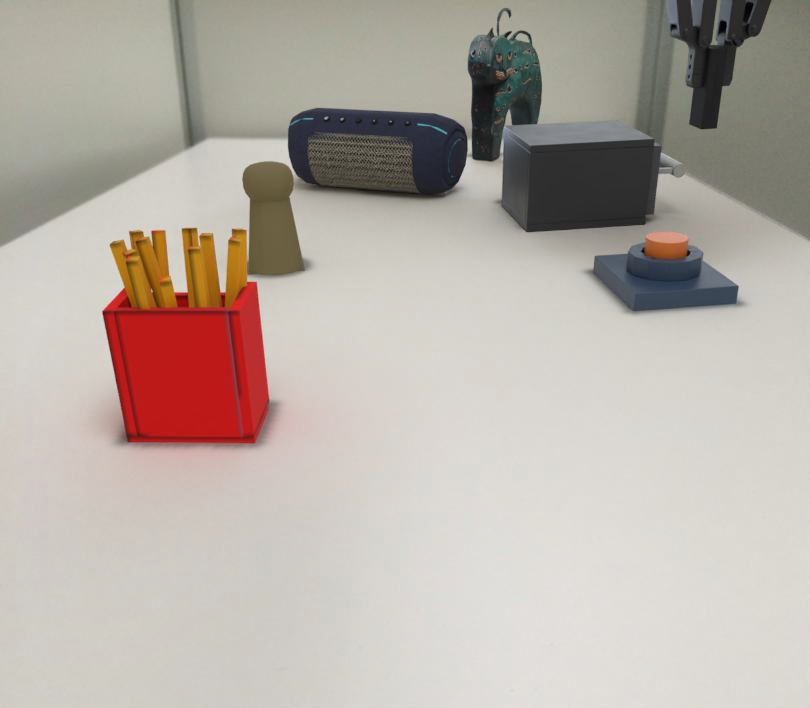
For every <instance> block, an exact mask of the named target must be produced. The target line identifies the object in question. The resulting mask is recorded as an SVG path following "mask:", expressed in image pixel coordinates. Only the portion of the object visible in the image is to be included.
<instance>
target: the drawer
mask: <svg viewBox="0 0 810 708" xmlns="http://www.w3.org/2000/svg"><path fill="white" fill-rule="evenodd" d="M662 147H663V146H662V145H661V144H659V143H657V142H656V141H654V149H653V158H652V167H651V176H650V185H649V194H648V203H647V212H646V216H654V215H655V209H656V199H657V191H658V183H659V182H658V181H659V175H667V174H669V175H671V176H673V177H675V178H677V179H679V178H682V177H683V176H685V174H686V171H687V166H686V165H685V164H683V163H681V162H680V161H678V160H677V159H674V158H672V157H671V156H669V155H667V154H665V153H663V152H662Z"/></svg>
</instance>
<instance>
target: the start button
mask: <svg viewBox="0 0 810 708" xmlns="http://www.w3.org/2000/svg"><path fill="white" fill-rule="evenodd" d="M644 242H645V250H644V254H645V255H647V256H650V257H654V258H664V259H675V258H683V257H686V256H687V250H688V245H689V242H690V237H689V236H688V235H686V234H684V233H680V232H676V231H653V232H650V233H647V234H646V236H645V241H644Z"/></svg>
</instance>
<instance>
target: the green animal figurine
mask: <svg viewBox="0 0 810 708" xmlns="http://www.w3.org/2000/svg"><path fill="white" fill-rule="evenodd" d="M504 12H506V13H507V16H508V18H509V19H511V17H512V9H510V8H509V7H503V8H501V9H500V11H499V12H498V14H497V18H496V22H497V23H496V35H495V33H494V27H493V26H492V27H491V28H490V30H489V31H488V33H487V34H477V35H476V36H474V38H473V39H472V41H471V43H470V44H469V49H468V55H467V72H468V75H469V78H470V80H471V105H470V117H471V119H470V121H471V158H472V160H475V161H485V162H493V161H495V160H497V159H499V158H500V154H501V146H502V141H503V135H504V126H506V120H507V115H508V112H509V113H510V119H511V125H530V124H539V119H540V112H541V106H542V98H543V97H542V96H543V80H542V70H541V64H540V59H539V55H538V53H537V50H536V48H535V47H534V46H533V39H532V35H531V34H530V32H528V31H527V30H521V29H520V30H517V31H515V32H514V33H513V34H512V32H513V30H508V31H506V32H504V33H502V34H500V21H501V18H502V15H503V14H504ZM511 34H512V35H511ZM519 34H523V35H525V36H527V39H528V41H523V40H519V39H517V37H518V35H519ZM510 35H511V36H510ZM509 36H510V37H509ZM508 37H509V39H508Z"/></svg>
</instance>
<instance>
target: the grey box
mask: <svg viewBox="0 0 810 708" xmlns="http://www.w3.org/2000/svg"><path fill="white" fill-rule="evenodd" d="M654 142H656V140H655V138H654V137H651V136H650V135H648V134H646V133H644V132H642V131H640V130H639V129H637V128H635V127H632V126H630V125H628V124H626V123H625V122H622V121H621V120H618V119H611V120H610V119H609V120H608V119H607V120H591V121H590V120H589V121H588V120H587V121H570V122H552V123H550V122H549V123H537V124H530V125H512V124H511V125H504V128H503V147H502V149H503V151H502V180H501V181H502V183H501V207H502V208H503V209H504V210H505V211H506V212H507V213H508V214H509V215H510V216H511V217H512V218H513V219H514V220H515V221H516V222H517V224H519V226H520V227H521V228H522V229H523V230H524V231H525V232H526V233H529V232H531V233H532V232H547V231H563V230H577V229H592V228H593V229H595V228H607V227H608V228H609V227H624V226H639V225H640V226H641V225H646V221H647V215H646V212H647V203H648V194H649V185H650V176H651V167H652V158H653V149H654Z"/></svg>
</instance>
